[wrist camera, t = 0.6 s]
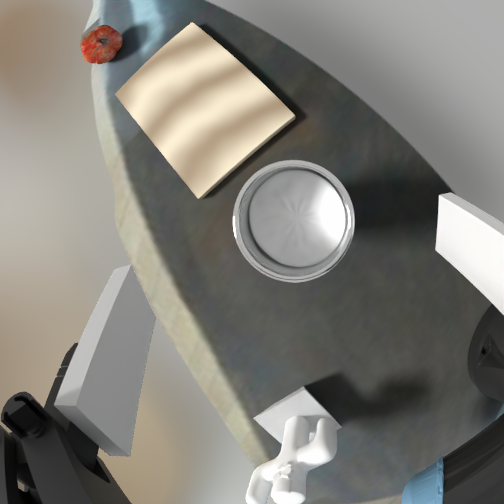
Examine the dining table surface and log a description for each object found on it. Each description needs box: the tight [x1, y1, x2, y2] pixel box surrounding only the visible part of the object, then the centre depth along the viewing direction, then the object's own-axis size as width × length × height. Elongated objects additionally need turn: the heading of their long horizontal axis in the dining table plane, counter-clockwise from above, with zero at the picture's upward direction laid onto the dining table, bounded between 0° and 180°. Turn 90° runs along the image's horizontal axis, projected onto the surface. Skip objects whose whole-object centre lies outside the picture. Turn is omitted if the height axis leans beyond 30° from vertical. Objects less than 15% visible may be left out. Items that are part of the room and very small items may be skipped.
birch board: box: [115, 22, 296, 199], centre depth 30 cm, size 18×13×1 cm
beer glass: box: [233, 160, 355, 282], centre depth 23 cm, size 7×7×15 cm
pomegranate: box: [81, 25, 122, 64], centre depth 29 cm, size 6×6×8 cm
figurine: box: [246, 386, 342, 504], centre depth 26 cm, size 7×9×15 cm
